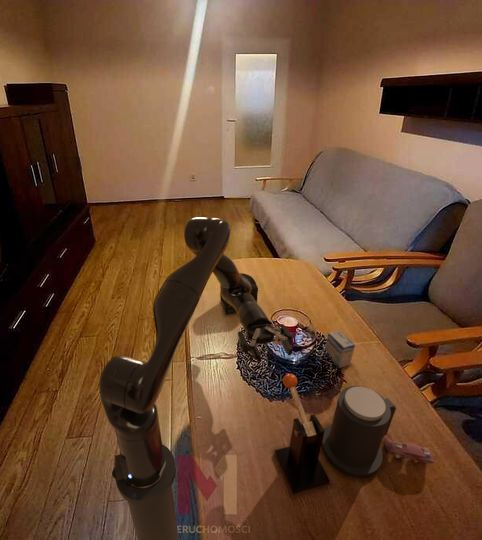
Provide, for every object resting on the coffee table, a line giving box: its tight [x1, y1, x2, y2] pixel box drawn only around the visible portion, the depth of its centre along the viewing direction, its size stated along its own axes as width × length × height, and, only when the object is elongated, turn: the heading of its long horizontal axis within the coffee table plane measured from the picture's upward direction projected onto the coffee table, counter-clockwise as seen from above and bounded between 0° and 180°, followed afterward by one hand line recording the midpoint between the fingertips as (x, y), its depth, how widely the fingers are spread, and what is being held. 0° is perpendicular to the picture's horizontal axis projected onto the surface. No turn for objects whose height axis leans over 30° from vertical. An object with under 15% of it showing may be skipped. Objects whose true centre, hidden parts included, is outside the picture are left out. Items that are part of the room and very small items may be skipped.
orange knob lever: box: [282, 373, 317, 438], centre depth 79 cm, size 14×3×3 cm, turn 14°
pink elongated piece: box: [384, 437, 435, 464], centre depth 83 cm, size 10×5×7 cm, turn 73°
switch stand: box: [274, 413, 331, 495], centre depth 79 cm, size 10×9×16 cm
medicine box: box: [324, 329, 356, 369], centre depth 112 cm, size 8×4×9 cm, turn 21°
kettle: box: [321, 385, 397, 479], centre depth 82 cm, size 15×14×18 cm
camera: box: [219, 272, 259, 315], centre depth 137 cm, size 11×14×15 cm
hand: (275, 356), depth 89 cm, fingers open, 8 cm apart
